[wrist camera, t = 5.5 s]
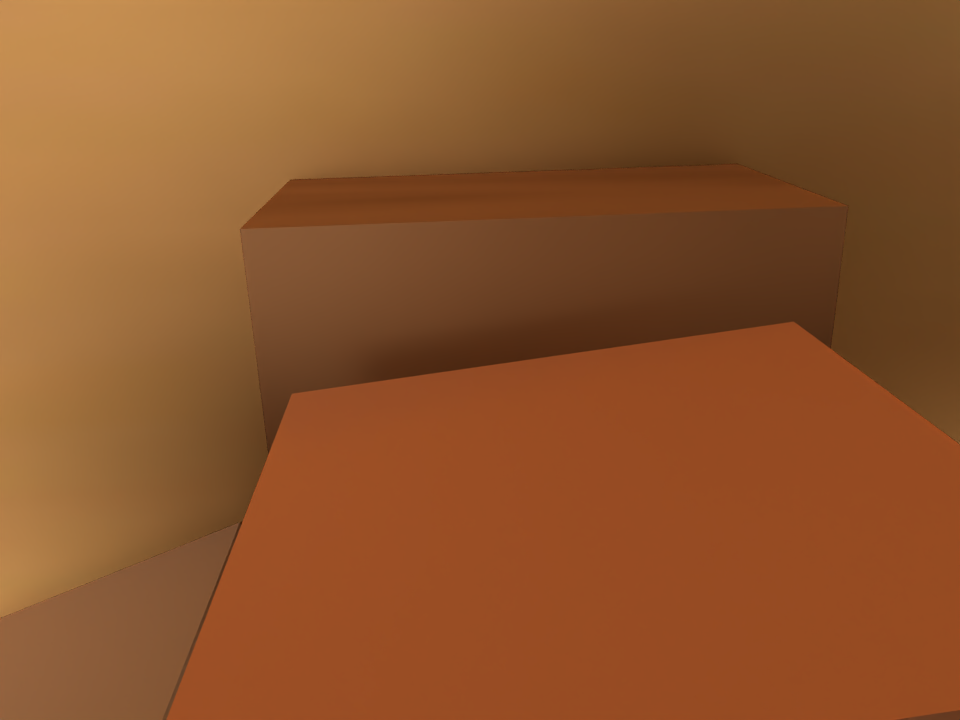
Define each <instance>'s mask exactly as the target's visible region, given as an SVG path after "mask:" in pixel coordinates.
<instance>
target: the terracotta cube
mask: <svg viewBox="0 0 960 720" xmlns="http://www.w3.org/2000/svg"><path fill="white" fill-rule="evenodd" d="M166 720H960V444H959V443H957V442H956V441H955V440H953V439H952V438H950V437H949V436H948V435H946V434H945V433H944V432H942V431H941V430H940V429H938V428H937V427H936V426H934V425H933V424H932V423H930V422H929V421H927V420H926V419H925V418H923V417H922V416H921V415H919V414H918V413H917V412H915V411H914V410H913V409H911V408H910V407H909V406H907V405H906V404H905V403H903V402H902V401H900V400H899V399H898V398H896V397H895V396H894V395H892V394H891V393H890V392H888V391H887V390H886V389H884V388H883V387H882V386H880V385H879V384H877V383H876V382H875V381H873V380H872V379H871V378H869V377H868V376H867V375H865V374H864V373H863V372H861V371H860V370H859V369H857V368H856V367H855V366H853V365H852V364H850V363H849V362H848V361H846V360H845V359H844V358H842V357H841V356H840V355H838V354H837V353H836V352H834V351H833V350H832V349H830V348H829V347H827V346H826V345H825V344H823V343H822V342H821V341H819V340H818V339H817V338H815V337H814V336H813V335H811V334H810V333H809V332H807V331H806V330H805V329H803V328H802V327H800V326H799V325H798V324H796V323H795V322H788V323H781V324H774V325H767V326H760V327H753V328H746V329H739V330H732V331H725V332H718V333H711V334H704V335H697V336H690V337H683V338H676V339H669V340H662V341H655V342H648V343H641V344H634V345H628V346H621V347H614V348H607V349H600V350H593V351H586V352H579V353H572V354H565V355H558V356H551V357H544V358H537V359H530V360H523V361H516V362H509V363H502V364H495V365H488V366H481V367H474V368H468V369H461V370H454V371H447V372H440V373H433V374H426V375H419V376H412V377H405V378H398V379H391V380H384V381H377V382H370V383H363V384H356V385H349V386H342V387H335V388H328V389H321V390H314V391H308V392H301V393H294V394H292V395H291V397H290V400H289V403H288V405H287V408H286V410H285V413H284V416H283V418H282V421H281V423H280V426H279V429H278V431H277V434H276V436H275V439H274V442H273V444H272V447H271V449H270V452H269V454H268V457H267V460H266V462H265V465H264V467H263V470H262V473H261V475H260V478H259V480H258V483H257V486H256V488H255V491H254V493H253V496H252V499H251V501H250V504H249V506H248V509H247V512H246V514H245V517H244V519H243V522H242V525H241V527H240V530H239V532H238V535H237V537H236V540H235V543H234V545H233V548H232V550H231V553H230V556H229V558H228V561H227V563H226V566H225V569H224V571H223V574H222V576H221V579H220V582H219V584H218V587H217V589H216V592H215V595H214V597H213V600H212V602H211V605H210V608H209V610H208V613H207V615H206V618H205V620H204V623H203V626H202V628H201V631H200V633H199V636H198V639H197V641H196V644H195V646H194V649H193V652H192V654H191V657H190V659H189V662H188V665H187V667H186V670H185V672H184V675H183V678H182V680H181V683H180V685H179V688H178V691H177V693H176V696H175V698H174V701H173V703H172V706H171V709H170V711H169V714H168V716H167V719H166Z"/></svg>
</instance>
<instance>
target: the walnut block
mask: <svg viewBox="0 0 960 720" xmlns="http://www.w3.org/2000/svg"><path fill="white" fill-rule="evenodd" d="M847 213H848V206H847V205H845V204H842V203H839V202H837V201H834V200H831V199H829V198H826V197H823V196H821V195H818V194H816V193H813V192H810V191H808V190H805V189H802V188H800V187H797V186H795V185H792V184H789V183H787V182H784V181H781V180H779V179H776V178H773V177H771V176H768V175H766V174H763V173H760V172H758V171H755V170H752V169H750V168H747V167H745V166H742V165H739V164H719V165H691V166H663V167H635V168H607V169H579V170H551V171H523V172H495V173H467V174H438V175H410V176H382V177H354V178H326V179H298V180H290V181H289V182H288V183H287V184H286V185H285V186H284V187H283V188H281V189H280V190H279V191H278V192H277V193H276V194H275V195H274V196H273V197H272V198H271V199H270V200H269V201H268V202H267V203H266V204H265V205H264V206H263V207H262V208H261V209H260V210H259V211H258V212H257V213H256V214H255V215H254V216H253V217H252V218H251V219H250V220H249V221H248V222H247V223H246V224H245V225H244V226H243V227H242V228H241V229H240V233H241V240H242V248H243V256H244V264H245V272H246V280H247V288H248V296H249V304H250V312H251V320H252V328H253V336H254V343H255V351H256V359H257V367H258V375H259V383H260V391H261V399H262V407H263V415H264V423H265V431H266V439H267V447H268V454H269V452H270V449H271V447H272V444H273V442H274V439H275V436H276V434H277V431H278V429H279V426H280V423H281V421H282V418H283V416H284V413H285V410H286V408H287V405H288V403H289V400H290V397H291V395H292V394H294V393H301V392H308V391H314V390H321V389H328V388H335V387H342V386H349V385H356V384H363V383H370V382H377V381H384V380H391V379H398V378H405V377H412V376H419V375H426V374H433V373H440V372H447V371H454V370H461V369H468V368H474V367H481V366H488V365H495V364H502V363H509V362H516V361H523V360H530V359H537V358H544V357H551V356H558V355H565V354H572V353H579V352H586V351H593V350H600V349H607V348H614V347H621V346H628V345H634V344H641V343H648V342H655V341H662V340H669V339H676V338H683V337H690V336H697V335H704V334H711V333H718V332H725V331H732V330H739V329H746V328H753V327H760V326H767V325H774V324H781V323H788V322H795V323H796V324H798V325H799V326H800V327H802V328H803V329H805V330H806V331H807V332H809V333H810V334H811V335H813V336H814V337H815V338H817V339H818V340H819V341H821V342H822V343H823V344H825V345H826V346H827V347H829V348H830V349H831V342H832V334H833V326H834V318H835V310H836V302H837V293H838V285H839V277H840V269H841V261H842V253H843V245H844V237H845V229H846V221H847Z"/></svg>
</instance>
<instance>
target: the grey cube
mask: <svg viewBox="0 0 960 720" xmlns="http://www.w3.org/2000/svg"><path fill="white" fill-rule="evenodd" d="M240 527H241V523H240V522H239V523H237V524H234V525H232V526H229V527H227V528H224V529H222V530H219V531H217V532H214V533H212V534H209V535H207V536H204V537H202V538H199V539H197V540H194V541H192V542H189V543H187V544H184V545H182V546H179V547H177V548H174V549H172V550H169V551H167V552H164V553H162V554H159V555H157V556H154V557H152V558H149V559H147V560H144V561H142V562H139V563H137V564H134V565H132V566H129V567H127V568H124V569H122V570H119V571H117V572H114V573H112V574H109V575H107V576H104V577H102V578H99V579H97V580H94V581H92V582H89V583H87V584H85V585H82V586H80V587H77V588H75V589H72V590H70V591H67V592H65V593H62V594H60V595H57V596H55V597H52V598H50V599H47V600H45V601H42V602H40V603H37V604H35V605H32V606H30V607H27V608H25V609H22V610H20V611H17V612H15V613H12V614H10V615H7V616H5V617H2V618H0V720H166V719H167V716H168V714H169V711H170V709H171V706H172V703H173V701H174V698H175V696H176V693H177V691H178V688H179V685H180V683H181V680H182V678H183V675H184V672H185V670H186V667H187V665H188V662H189V659H190V657H191V654H192V652H193V649H194V646H195V644H196V641H197V639H198V636H199V633H200V631H201V628H202V626H203V623H204V620H205V618H206V615H207V613H208V610H209V608H210V605H211V602H212V600H213V597H214V595H215V592H216V589H217V587H218V584H219V582H220V579H221V576H222V574H223V571H224V569H225V566H226V563H227V561H228V558H229V556H230V553H231V550H232V548H233V545H234V543H235V540H236V537H237V535H238V532H239V530H240Z"/></svg>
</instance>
